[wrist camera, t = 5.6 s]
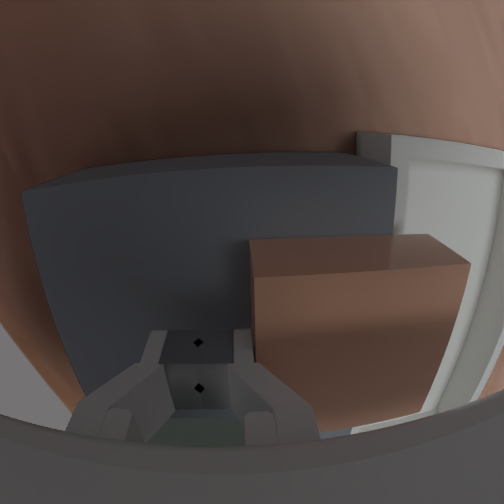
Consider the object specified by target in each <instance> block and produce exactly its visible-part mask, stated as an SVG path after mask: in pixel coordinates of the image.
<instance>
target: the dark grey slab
mask: <svg viewBox="0 0 504 504" xmlns="http://www.w3.org/2000/svg"><path fill="white" fill-rule="evenodd" d="M397 175H398V168H397V167H394V166H391V165H387V164H384V163H381V162H377V161H374V160H370V159H367V158H363V157H360V156H356V155H352V154H348V153H333V152H271V153H240V154H220V155H204V156H190V157H178V158H167V159H156V160H147V161H138V162H130V163H121V164H114V165H107V166H99V167H93V168H86V169H81V170H78V171H75V172H72V173H69V174H67V175H64V176H61V177H58V178H56V179H53V180H50V181H48V182H45V183H42V184H40V185H37V186H35V187H32V188H30V189H27V190H25V191H22V192H21V195H22V201H23V206H24V212H25V217H26V222H27V227H28V232H29V236H30V241H31V245H32V249H33V253H34V257H35V261H36V265H37V268H38V272H39V276H40V279H41V283H42V286H43V289H44V292H45V296H46V299H47V302H48V305H49V308H50V311H51V314H52V317H53V320H54V322H55V325H56V328H57V331H58V333H59V336H60V338H61V341H62V344H63V346H64V349H65V351H66V354H67V356H68V358H69V361H70V363H71V365H72V368H73V370H74V372H75V374H76V377H77V379H78V381H79V383H80V385H81V387H82V390H83V392H84V394H85V396H88V395H89V394H91V393H92V392H94V391H95V390H97V389H98V388H100V387H101V386H102V385H104V384H105V383H107V382H108V381H110V380H111V379H113V378H114V377H116V376H117V375H119V374H120V373H121V372H123V371H124V370H126V369H127V368H129V367H130V366H132V365H133V364H134V363H140V360H141V358H142V355H143V352H144V349H145V346H146V344H147V341H148V338H149V335H150V333H151V331H153V330H168V331H169V330H201V331H212V330H234V329H244V328H250V329H251V331H252V328H251V294H250V259H249V239H274V238H302V237H332V236H364V235H393V226H394V216H395V204H396V191H397ZM169 418H187V419H220V418H237V416H236V415H235V414H234V413H233V411H232V410H213V409H175V412H174V413H173V414H172V415H171V416H170V417H169ZM351 430H352V428H346V429H340V430H334V431H327V432H320V433H319V434H320V438H321V439H326V438H333V437H339V436H345V435H350V433H351Z"/></svg>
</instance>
